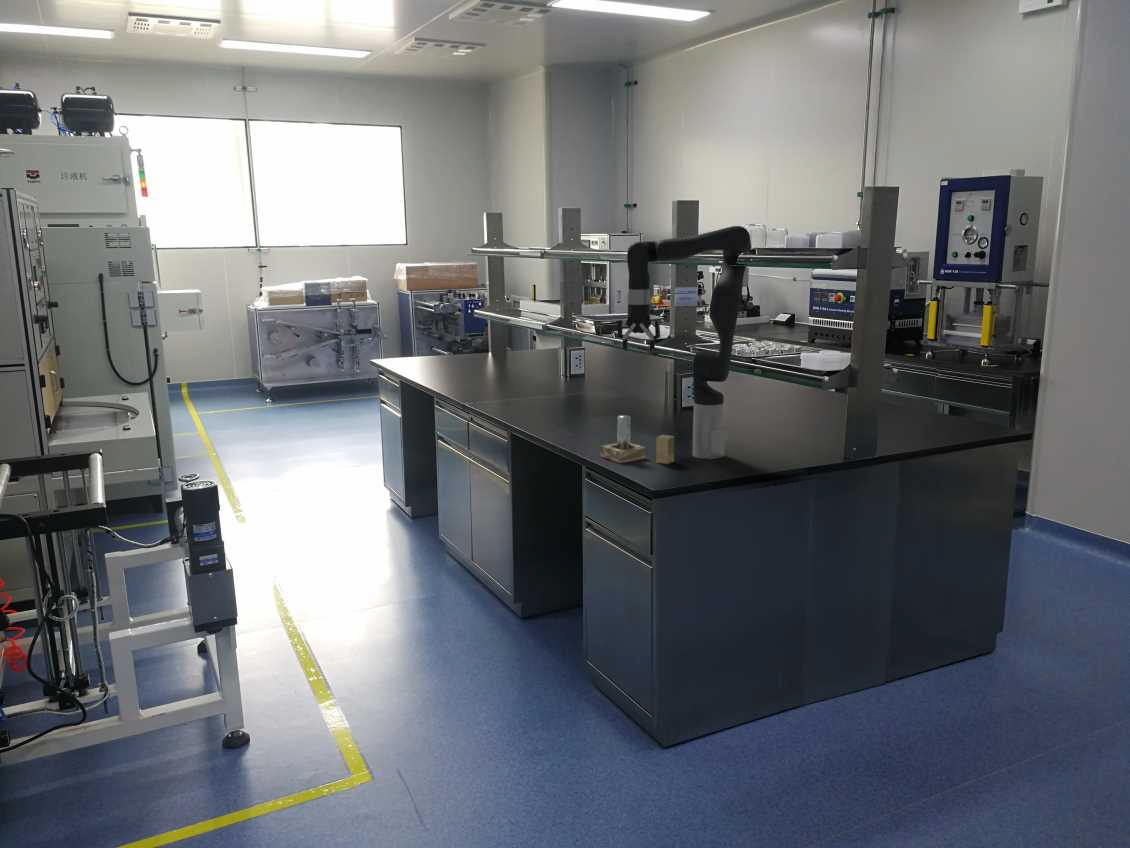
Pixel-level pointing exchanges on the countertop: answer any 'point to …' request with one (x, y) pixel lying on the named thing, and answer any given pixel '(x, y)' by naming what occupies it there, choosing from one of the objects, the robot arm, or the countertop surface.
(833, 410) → the countertop surface
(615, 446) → the socket block
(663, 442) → the yellow brown rectangular block
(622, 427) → the cylinder
